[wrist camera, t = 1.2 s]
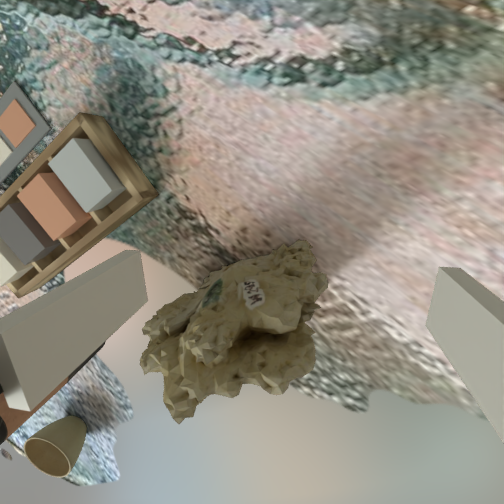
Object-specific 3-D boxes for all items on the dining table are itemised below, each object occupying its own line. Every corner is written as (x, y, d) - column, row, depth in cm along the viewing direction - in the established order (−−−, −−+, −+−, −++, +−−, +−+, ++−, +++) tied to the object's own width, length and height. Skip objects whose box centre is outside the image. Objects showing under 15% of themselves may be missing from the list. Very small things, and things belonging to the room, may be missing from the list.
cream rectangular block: (-13, 242, 43) (-36, 248, 41) (3, 226, 42) (-18, 231, 39) (18, 279, 44) (-1, 287, 42) (36, 264, 43) (17, 272, 40)
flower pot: (85, 405, 56) (55, 438, 50) (104, 442, 59) (78, 478, 52) (47, 406, 59) (13, 438, 52) (67, 442, 61) (38, 476, 55)
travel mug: (81, 305, 48) (-63, 401, 29) (115, 335, 49) (-5, 447, 30) (61, 330, 51) (-81, 432, 32) (94, 358, 51) (-27, 473, 33)
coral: (190, 336, 46) (109, 461, 27) (158, 285, 44) (47, 383, 25) (339, 283, 38) (369, 407, 19) (309, 218, 36) (310, 287, 17)
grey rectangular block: (10, 219, 41) (-11, 224, 38) (29, 200, 39) (8, 204, 37) (43, 258, 42) (24, 265, 39) (63, 241, 41) (44, 248, 38)
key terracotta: (37, 192, 39) (16, 195, 36) (58, 172, 37) (38, 173, 34) (71, 234, 40) (53, 240, 37) (93, 216, 38) (76, 221, 35)
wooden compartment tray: (-9, 229, 46) (-37, 236, 42) (102, 116, 37) (79, 112, 33) (40, 287, 48) (18, 298, 44) (159, 194, 39) (143, 199, 35)
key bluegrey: (67, 163, 36) (47, 163, 34) (91, 139, 35) (72, 138, 32) (102, 208, 38) (86, 212, 35) (127, 187, 36) (112, 190, 33)
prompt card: (-34, 145, 42) (-38, 145, 41) (16, 81, 37) (12, 80, 37) (-1, 185, 43) (-5, 186, 43) (51, 128, 38) (48, 128, 38)
